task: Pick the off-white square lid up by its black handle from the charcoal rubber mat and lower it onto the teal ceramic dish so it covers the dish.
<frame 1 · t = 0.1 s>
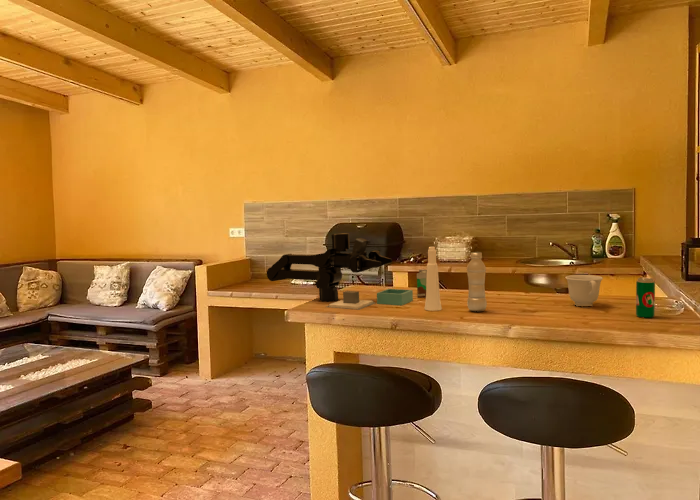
hand: (386, 261, 191), 17 cm above the countertop, tool horizontal, fingers open, 9 cm apart
dish: (395, 304, 197), on the countertop
plastic bottle: (476, 311, 181), on the countertop
lid: (351, 304, 194), point 1 cm above the countertop, touching mat
food container: (426, 296, 213), on the countertop
cosmetic bottle: (433, 309, 186), on the countertop
teacup: (585, 307, 182), on the countertop
mat: (351, 307, 195), on the countertop
soda can: (645, 317, 164), on the countertop
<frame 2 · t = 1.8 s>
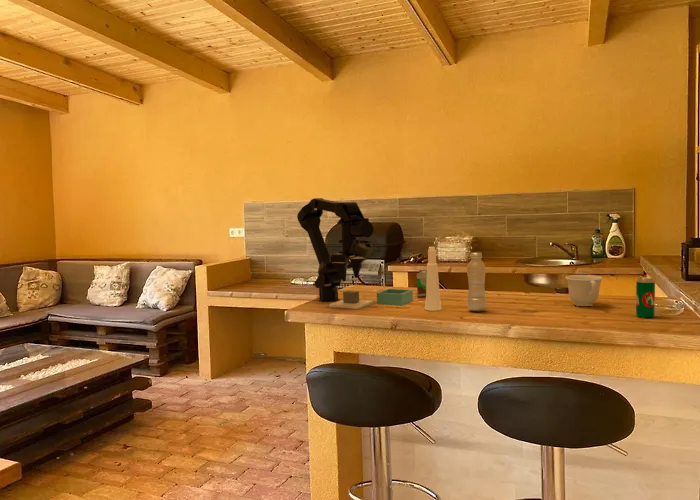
hand: (350, 279, 194), 10 cm above the countertop, tool pointing down, fingers open, 9 cm apart
nothing on the countertop moved.
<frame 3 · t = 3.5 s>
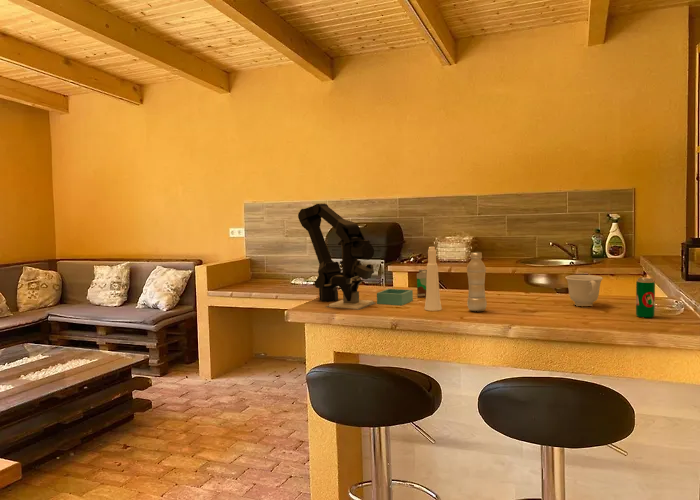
hand: (351, 300, 194), 3 cm above the countertop, tool pointing down, fingers closed on lid, 3 cm apart
lid: (351, 304, 194), point 1 cm above the countertop, touching gripper, mat
everything else where it was.
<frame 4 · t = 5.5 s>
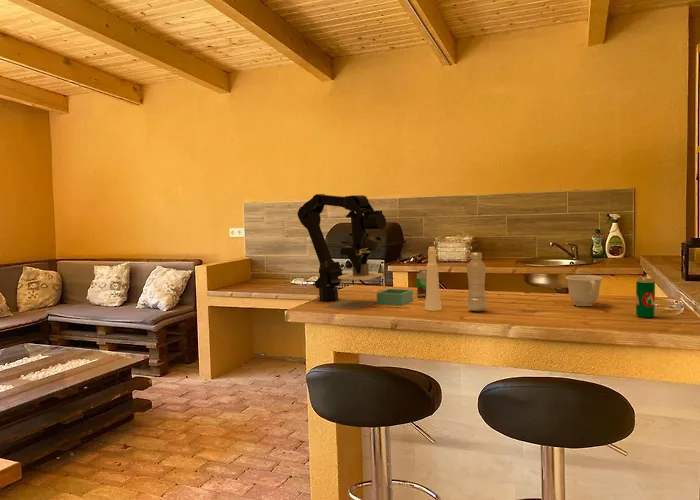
hand: (360, 272, 194), 13 cm above the countertop, tool pointing down, fingers closed on lid, 3 cm apart
lid: (360, 277, 194), point 11 cm above the countertop, touching gripper
everything else where it was.
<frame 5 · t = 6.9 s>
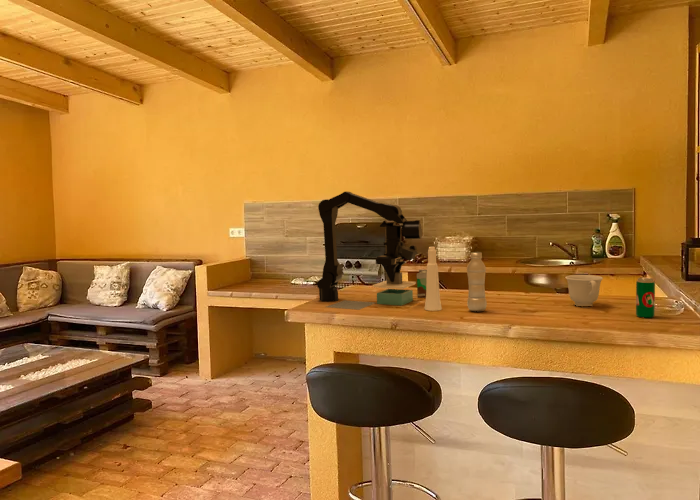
hand: (394, 281, 196), 9 cm above the countertop, tool pointing down, fingers closed on lid, 3 cm apart
lid: (394, 285, 196), point 7 cm above the countertop, touching gripper
everything else where it was.
when the fingers open (8 cm above the countertop, at t = 7.6 s): lid drops 2 cm, resting on dish.
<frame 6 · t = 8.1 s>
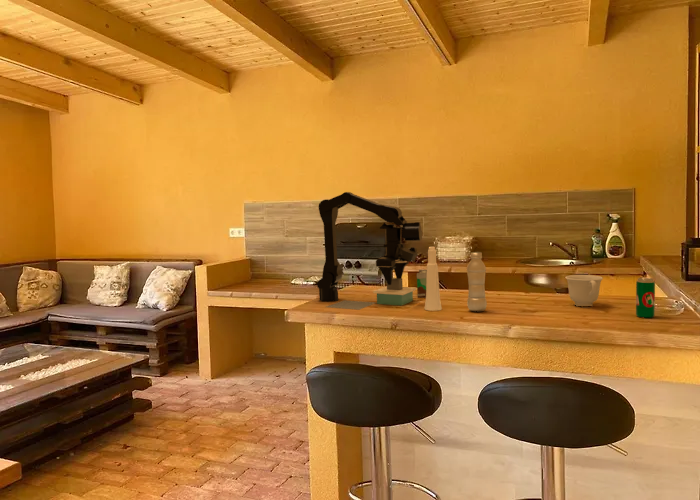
hand: (394, 283, 196), 8 cm above the countertop, tool pointing down, fingers open, 8 cm apart
lid: (394, 291, 196), point 5 cm above the countertop, touching dish
everything else where it was.
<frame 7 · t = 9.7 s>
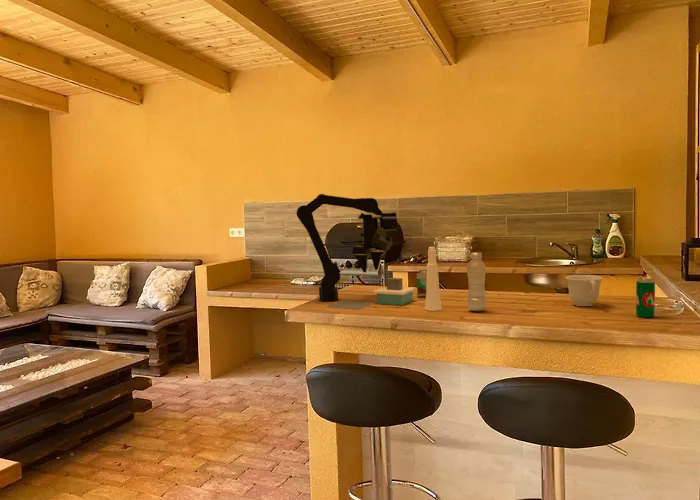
hand: (370, 270, 205), 12 cm above the countertop, tool pointing down, fingers open, 9 cm apart
nothing on the countertop moved.
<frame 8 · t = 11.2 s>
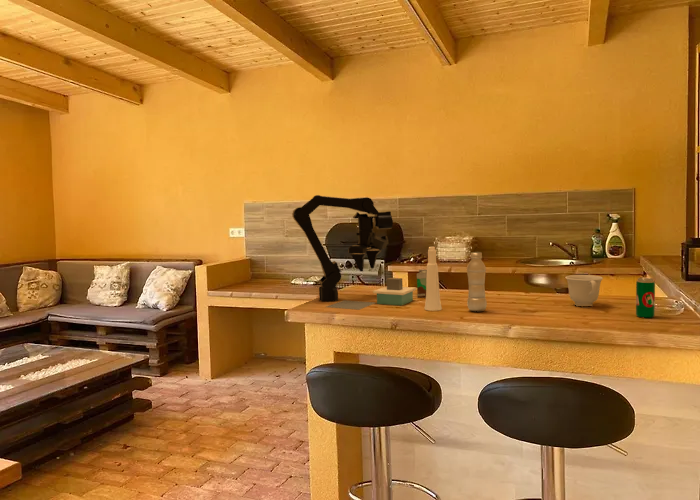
hand: (367, 269, 207), 12 cm above the countertop, tool pointing down, fingers open, 9 cm apart
nothing on the countertop moved.
at the end: lid 0.0 cm off-centre on the dish, point 5.0 cm above the dish's base; lid tilted 0°; the gripper is holding nothing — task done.
